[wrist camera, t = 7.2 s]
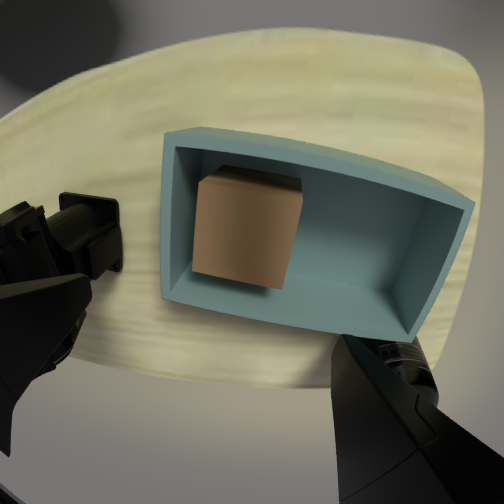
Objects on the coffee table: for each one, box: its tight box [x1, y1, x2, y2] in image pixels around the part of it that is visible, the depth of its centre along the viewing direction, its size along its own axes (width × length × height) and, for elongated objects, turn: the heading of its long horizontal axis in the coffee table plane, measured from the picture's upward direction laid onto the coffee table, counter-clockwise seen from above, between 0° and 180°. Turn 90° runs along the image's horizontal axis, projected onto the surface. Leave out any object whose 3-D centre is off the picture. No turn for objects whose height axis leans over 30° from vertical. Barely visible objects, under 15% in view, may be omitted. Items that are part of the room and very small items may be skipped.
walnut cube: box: [192, 165, 303, 290], centre depth 17 cm, size 5×5×5 cm
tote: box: [160, 127, 475, 343], centre depth 17 cm, size 16×10×6 cm, turn 81°
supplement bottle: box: [355, 336, 439, 408], centre depth 18 cm, size 7×7×12 cm
